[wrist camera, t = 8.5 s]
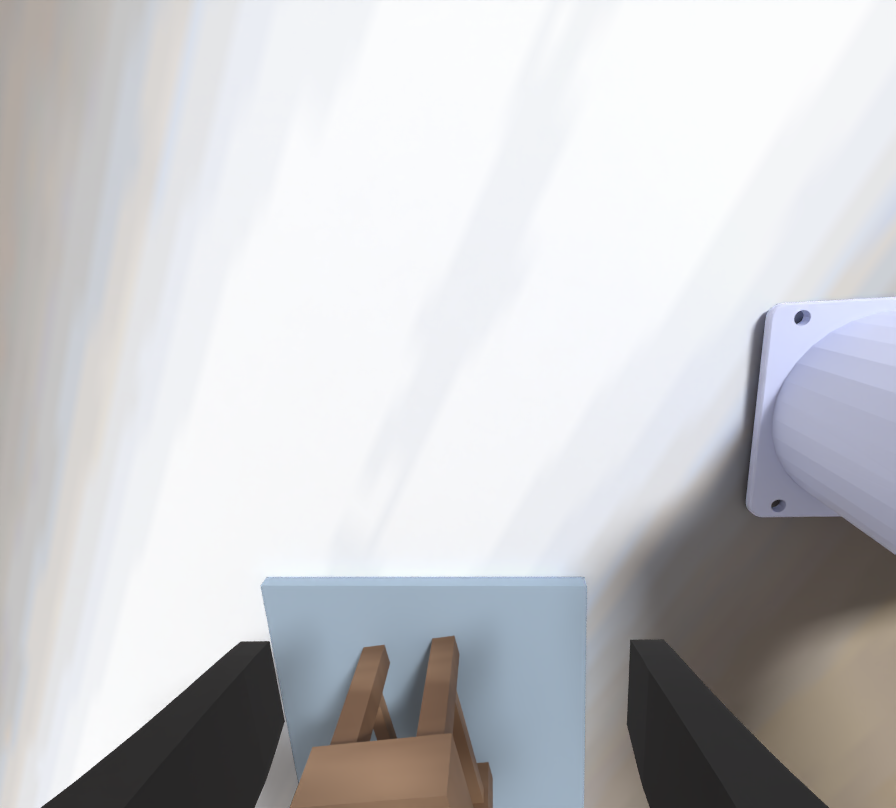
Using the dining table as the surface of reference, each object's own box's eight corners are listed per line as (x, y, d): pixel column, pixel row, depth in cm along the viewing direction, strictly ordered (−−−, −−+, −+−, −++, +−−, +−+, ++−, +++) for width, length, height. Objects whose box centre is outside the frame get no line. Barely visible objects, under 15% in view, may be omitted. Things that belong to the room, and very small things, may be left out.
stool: (502, 783, 23) (506, 994, 16) (402, 791, 24) (367, 996, 17) (461, 626, 21) (446, 795, 14) (352, 640, 22) (289, 807, 15)
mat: (584, 577, 20) (586, 586, 20) (581, 821, 24) (583, 834, 24) (266, 577, 22) (260, 585, 21) (309, 808, 26) (305, 820, 25)
